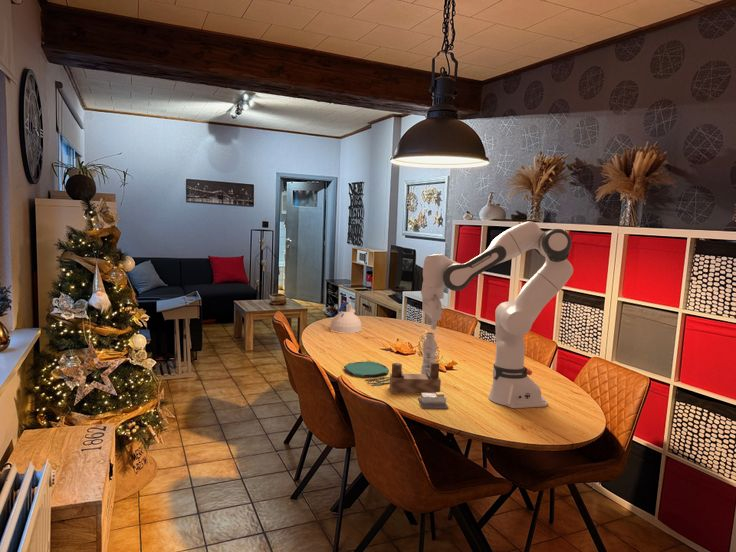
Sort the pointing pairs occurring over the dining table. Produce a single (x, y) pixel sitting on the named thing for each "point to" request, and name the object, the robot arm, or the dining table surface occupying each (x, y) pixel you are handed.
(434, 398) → the lever cap
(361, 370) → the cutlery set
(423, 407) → the rubber mat
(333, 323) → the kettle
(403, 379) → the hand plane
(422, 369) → the plastic bottle
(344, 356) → the dining table surface
